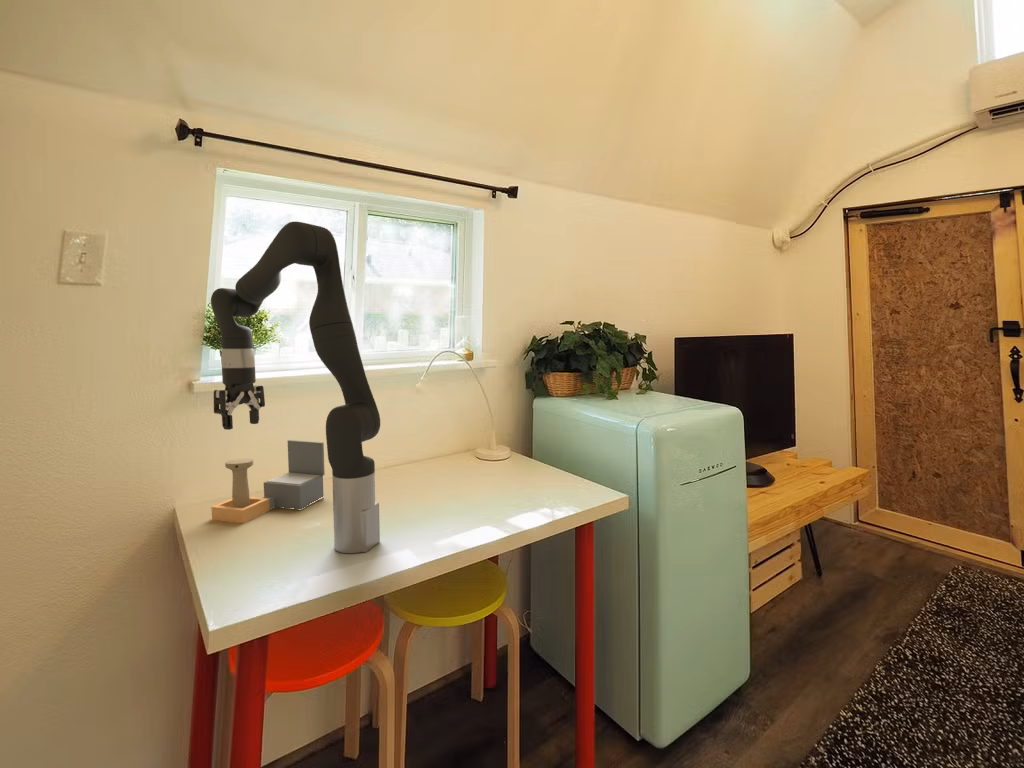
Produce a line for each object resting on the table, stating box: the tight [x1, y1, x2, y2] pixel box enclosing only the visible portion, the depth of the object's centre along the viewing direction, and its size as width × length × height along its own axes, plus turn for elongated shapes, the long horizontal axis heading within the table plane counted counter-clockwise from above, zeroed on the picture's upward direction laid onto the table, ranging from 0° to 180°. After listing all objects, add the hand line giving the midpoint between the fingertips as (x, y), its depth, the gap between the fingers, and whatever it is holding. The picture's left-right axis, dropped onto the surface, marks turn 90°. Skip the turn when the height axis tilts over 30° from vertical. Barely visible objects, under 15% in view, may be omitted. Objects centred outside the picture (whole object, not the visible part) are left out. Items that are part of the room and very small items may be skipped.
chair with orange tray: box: [210, 439, 325, 524], centre depth 126 cm, size 18×22×17 cm
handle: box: [224, 458, 254, 508], centre depth 121 cm, size 5×6×15 cm
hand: (241, 426), depth 120 cm, fingers open, 8 cm apart
